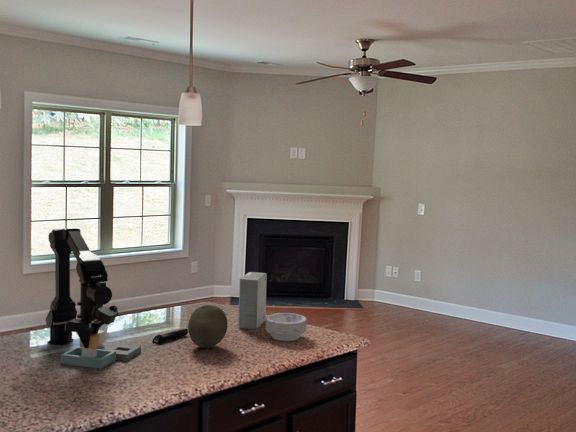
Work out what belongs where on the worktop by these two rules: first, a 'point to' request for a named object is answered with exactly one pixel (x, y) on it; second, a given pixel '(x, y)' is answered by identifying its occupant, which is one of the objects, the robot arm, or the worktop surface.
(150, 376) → the worktop surface
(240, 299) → the hard drive box
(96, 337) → the block
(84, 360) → the parts tray
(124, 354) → the block
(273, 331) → the paper bowls
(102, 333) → the block
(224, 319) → the cantaloupe
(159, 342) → the electric trimmer
